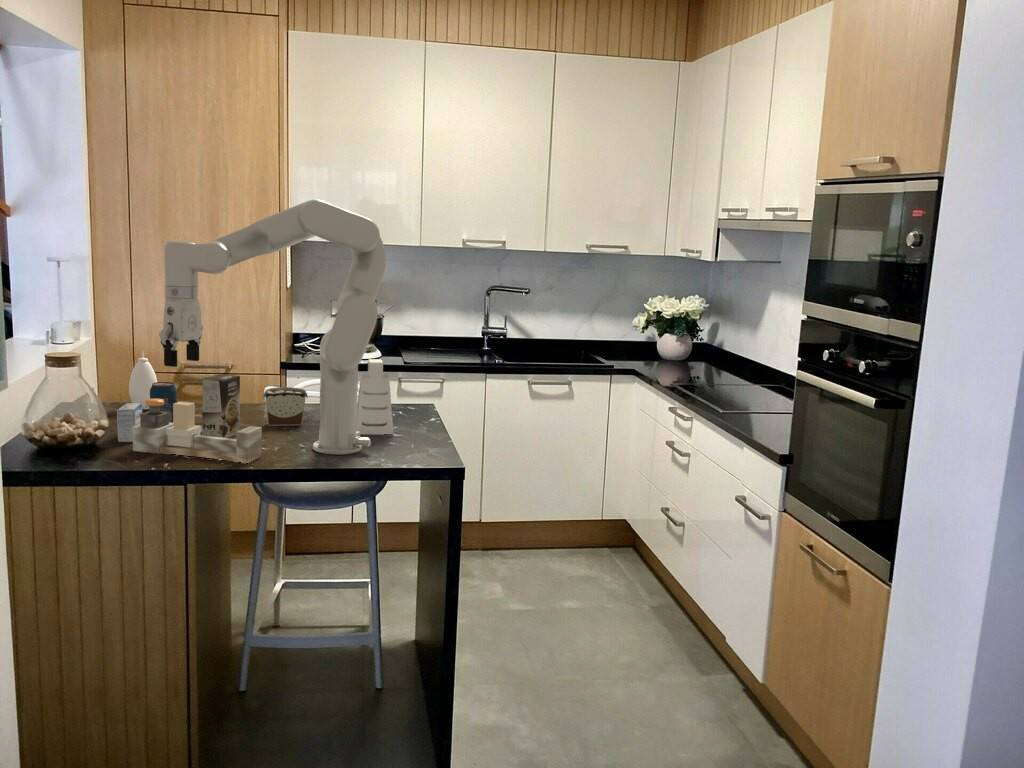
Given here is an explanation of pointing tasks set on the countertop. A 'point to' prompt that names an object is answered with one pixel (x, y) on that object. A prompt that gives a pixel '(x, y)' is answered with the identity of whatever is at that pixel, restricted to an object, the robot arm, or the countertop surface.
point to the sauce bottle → (141, 381)
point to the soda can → (165, 396)
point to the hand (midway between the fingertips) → (182, 363)
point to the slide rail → (196, 441)
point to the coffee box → (221, 406)
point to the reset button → (154, 405)
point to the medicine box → (128, 420)
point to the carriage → (183, 425)
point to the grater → (374, 401)
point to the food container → (285, 405)
